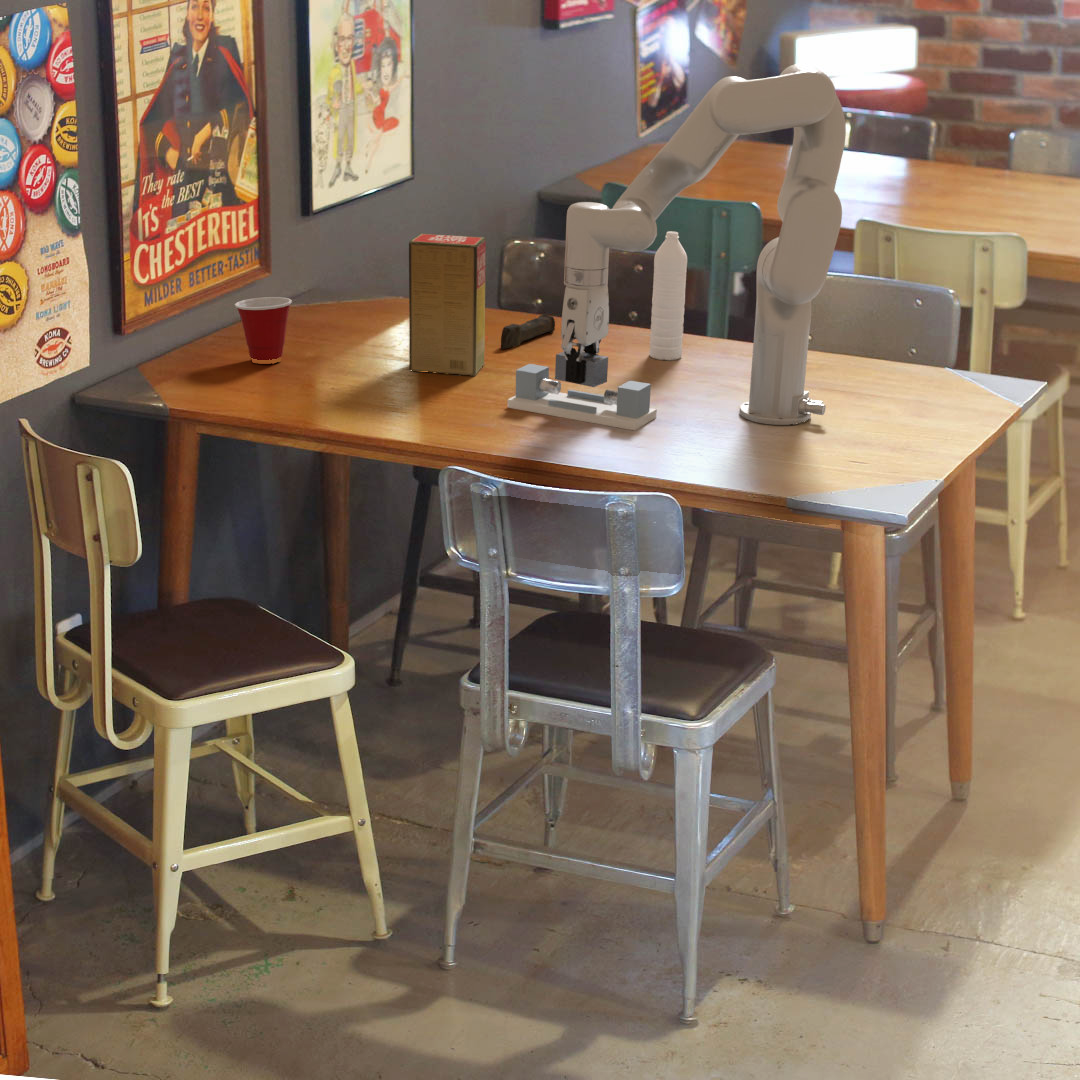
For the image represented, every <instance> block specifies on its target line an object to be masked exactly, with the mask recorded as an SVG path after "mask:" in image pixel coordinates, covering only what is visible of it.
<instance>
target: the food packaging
mask: <svg viewBox="0 0 1080 1080" xmlns="http://www.w3.org/2000/svg"><path fill="white" fill-rule="evenodd" d="M486 251H487V238H486V237H484V236H464V235H449V234H448V235H446V234H429V233H419V234H418V235H416V236H415V237H413V238H412V239H411V240H410V241H409V242H408V298H409V299H408V300H409V301H408V303H409V304H408V305H409V307H408V308H409V309H408V310H409V321H408V323H409V331H408V332H409V333H408V334H409V336H408V337H409V342H408V343H409V347H408V348H409V356H408V357H409V363H408V364H409V365H408V366H409V367H408V368H409V370H412V371H428V372H436V373H448V374H447V375H449V374H459V375H458V376H461V375H470V376H469V377H476V376H477V374H478V373H479V372H480V371H481V369H482V368H483V367H484V366H485V345H486V344H485V339H486V338H485V337H486V331H485V330H486V329H485V328H486V326H485V325H486V324H485V323H486V271H487V270H486V265H487V264H486V263H487V261H486V258H487V257H486V256H487V255H486V254H487V252H486ZM482 366H483V367H482Z"/></svg>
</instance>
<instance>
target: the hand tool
mask: <svg viewBox="0 0 1080 1080" xmlns="http://www.w3.org/2000/svg"><path fill="white" fill-rule="evenodd" d="M554 318H555V317H554V316H552V315H549V314H547V313H545V314H543V313H542V314H540V315H539V316H538V317H537V318H532V319H531V320H527V321H526V322H524V323H521V324H515V323H511V324H507V325H505V326H504V327H503V328H502V331H501V332H502V333H501V337H500V349H501V350H507V349H506V348H509V349H511V348H510V347H513V348H515V347H514V346H517V347H519V346H518V345H521V344H522V342H525V341H528V340H531V339H533V338H535V337H538V336H541V335H544V334H546V333H549V334H552V333H554V331H555V330H556V328H555V327H556V321H555V319H554Z"/></svg>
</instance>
